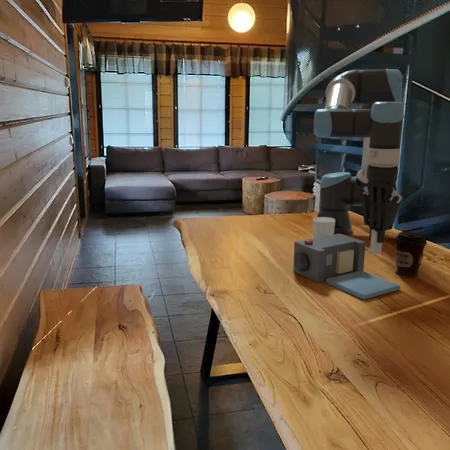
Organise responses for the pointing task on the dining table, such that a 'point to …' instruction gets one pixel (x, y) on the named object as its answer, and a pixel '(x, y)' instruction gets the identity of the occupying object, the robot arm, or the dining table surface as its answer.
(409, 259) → the coffee cup
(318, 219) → the white cup
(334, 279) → the side door
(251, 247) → the dining table surface
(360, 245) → the grey notched block
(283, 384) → the dining table surface
